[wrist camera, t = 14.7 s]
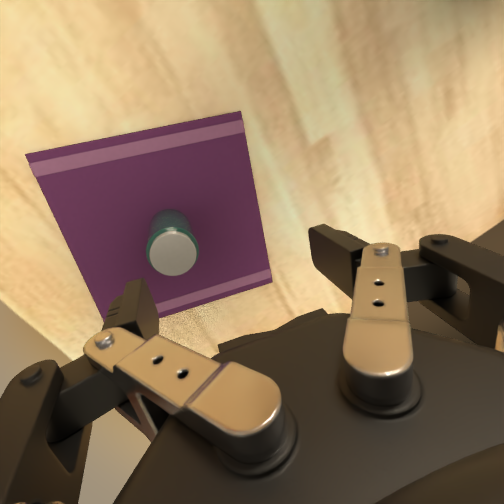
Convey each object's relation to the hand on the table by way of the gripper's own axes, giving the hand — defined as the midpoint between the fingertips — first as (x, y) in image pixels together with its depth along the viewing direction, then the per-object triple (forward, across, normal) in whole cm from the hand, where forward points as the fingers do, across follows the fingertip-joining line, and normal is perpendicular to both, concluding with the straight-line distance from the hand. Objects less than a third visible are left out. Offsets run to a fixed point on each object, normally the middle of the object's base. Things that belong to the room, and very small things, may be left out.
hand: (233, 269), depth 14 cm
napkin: (+20, +4, +3) cm, 20 cm away
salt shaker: (+19, +4, +3) cm, 20 cm away
